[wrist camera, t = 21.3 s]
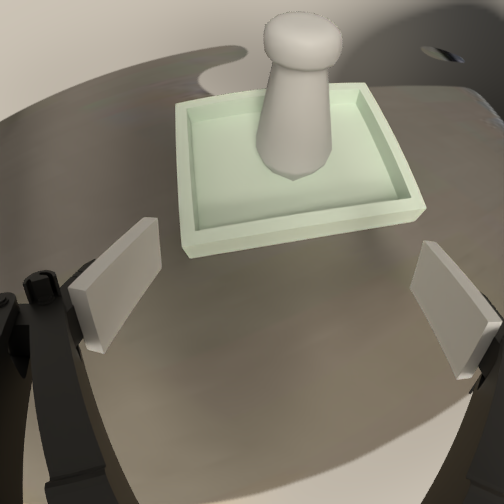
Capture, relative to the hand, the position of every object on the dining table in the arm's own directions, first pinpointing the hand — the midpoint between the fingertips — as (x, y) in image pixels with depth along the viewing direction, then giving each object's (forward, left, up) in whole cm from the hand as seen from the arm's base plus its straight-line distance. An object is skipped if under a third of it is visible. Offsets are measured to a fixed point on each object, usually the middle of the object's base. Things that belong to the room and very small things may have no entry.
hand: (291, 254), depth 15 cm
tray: (-5, +10, -8) cm, 13 cm away
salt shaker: (-4, +10, -7) cm, 13 cm away
